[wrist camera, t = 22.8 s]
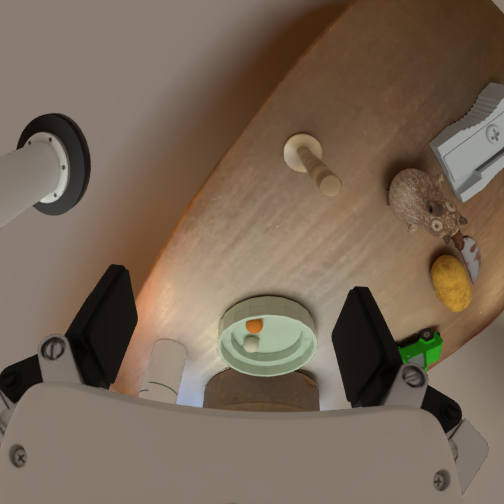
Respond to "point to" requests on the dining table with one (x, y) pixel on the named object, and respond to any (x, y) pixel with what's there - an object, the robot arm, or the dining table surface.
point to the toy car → (422, 349)
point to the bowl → (267, 337)
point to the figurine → (424, 204)
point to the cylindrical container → (164, 372)
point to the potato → (451, 283)
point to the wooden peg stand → (311, 162)
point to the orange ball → (254, 325)
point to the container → (261, 393)
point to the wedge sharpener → (474, 144)
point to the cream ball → (250, 344)
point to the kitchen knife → (469, 254)
